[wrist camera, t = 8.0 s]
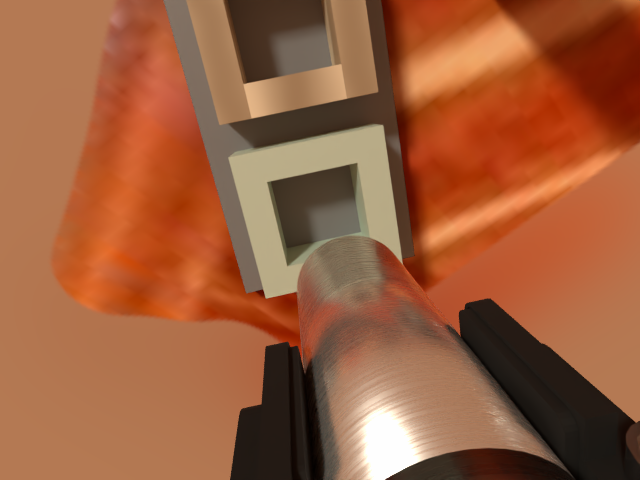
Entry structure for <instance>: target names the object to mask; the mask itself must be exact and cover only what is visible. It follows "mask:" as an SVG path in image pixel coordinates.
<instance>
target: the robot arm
mask: <svg viewBox="0 0 640 480" xmlns="http://www.w3.org/2000/svg"><path fill="white" fill-rule="evenodd" d="M459 323H460V334H461V338H462V339H463V340H464V341H465V343H466V344H467V345H468V346H469V348H470V349H471V350H472V351H473V353H474V354H475V355H476V356H477V358H478V359H479V360H480V361H481V363H482V364H483V365H484V366H485V368H486V369H487V370H488V371H489V373H490V374H491V375H492V376H493V378H494V379H495V380H496V381H497V383H498V384H499V385H500V386H501V388H502V389H503V390H504V391H505V393H506V394H507V395H508V396H509V397H510V399H511V400H512V401H513V402H514V404H515V405H516V406H517V407H518V409H519V410H520V411H521V412H522V414H523V415H524V416H525V417H526V419H527V420H528V421H529V422H530V424H531V425H532V426H533V427H534V429H535V430H536V431H537V432H538V434H539V435H540V436H541V437H542V439H543V440H544V441H545V442H546V444H547V445H548V446H549V447H550V448H551V450H552V451H553V452H554V453H555V455H556V456H557V457H558V458H559V460H560V461H561V462H562V463H563V465H564V466H565V467H566V468H567V470H568V471H569V472H570V473H571V475H572V476H573V477H574V478H575V480H640V421H638V422H637V423H635V422H634V421H633V420H632V419H631V418H630V417H629V416H627V415H626V414H625V413H624V412H623V411H622V410H621V409H620V408H618V407H617V406H616V405H615V404H614V403H613V402H611V401H610V400H609V399H608V398H607V397H606V396H605V395H604V394H602V393H601V392H600V391H599V390H598V389H597V388H595V387H594V386H593V385H592V384H591V383H590V382H589V381H587V380H586V379H585V378H584V377H583V376H582V375H581V374H579V373H578V372H577V371H576V370H575V369H574V368H572V367H571V366H570V365H569V364H568V363H567V362H566V361H565V360H563V359H562V358H561V357H560V356H559V355H558V354H557V353H555V352H554V351H553V350H552V349H551V348H550V347H548V346H547V345H545V344H541V343H540V342H539V341H538V340H537V339H536V338H534V337H533V336H532V335H531V334H530V333H529V332H528V331H526V330H525V329H524V328H523V327H522V326H521V325H520V324H519V323H518V322H516V321H515V320H514V319H513V318H512V317H511V316H509V314H507V313H506V312H505V311H504V310H503V309H502V308H500V307H499V306H498V305H497V304H496V303H495V302H494V301H492V300H491V299H484V300H479V301H474V302H469V303H467V304H466V305H465V310H461V311H460V312H459ZM263 379H264V380H263V392H262V393H263V394H262V404H261V405H257V406H252V407H247V408H243V409H241V411H240V415H239V421H238V428H237V435H236V442H235V449H234V456H233V464H232V471H231V478H230V480H314V472H313V461H312V450H311V438H310V427H309V416H308V405H307V393H306V382H305V373H304V369H303V365H302V361H301V357H300V352H299V348H298V346H294V347H290V345H289V343H288V342H284V343H279V344H275V345H270V346H266V349H265V364H264V378H263Z"/></svg>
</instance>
